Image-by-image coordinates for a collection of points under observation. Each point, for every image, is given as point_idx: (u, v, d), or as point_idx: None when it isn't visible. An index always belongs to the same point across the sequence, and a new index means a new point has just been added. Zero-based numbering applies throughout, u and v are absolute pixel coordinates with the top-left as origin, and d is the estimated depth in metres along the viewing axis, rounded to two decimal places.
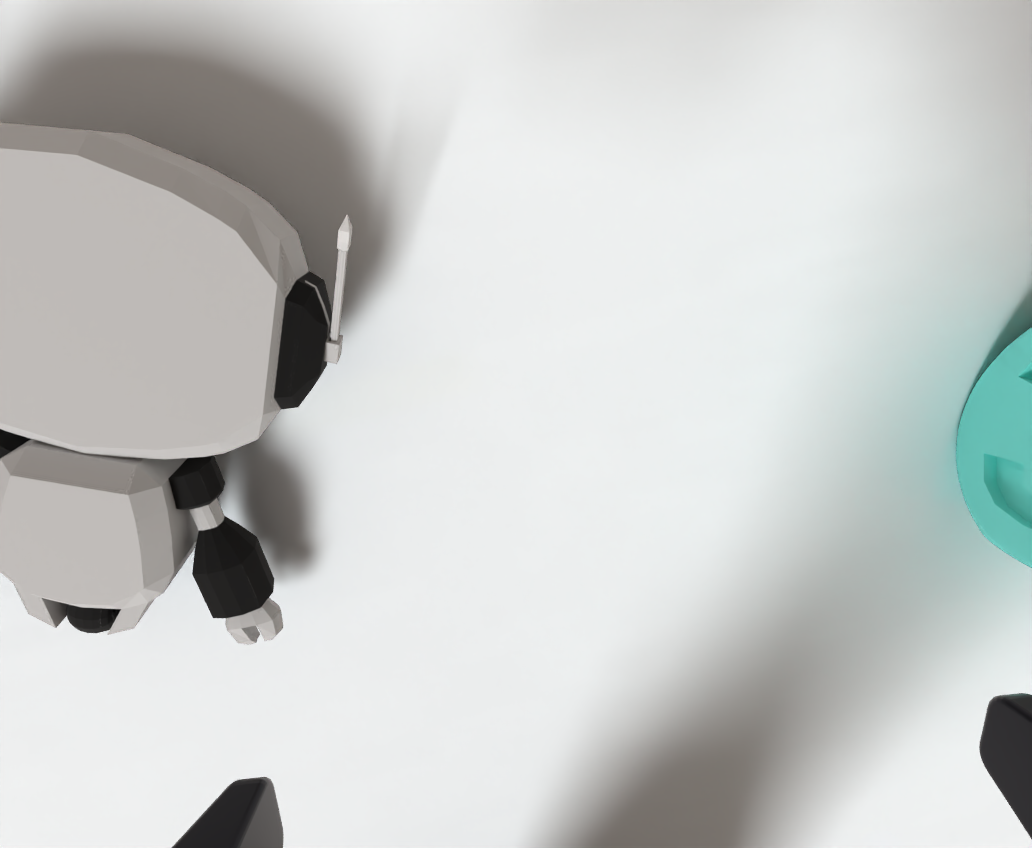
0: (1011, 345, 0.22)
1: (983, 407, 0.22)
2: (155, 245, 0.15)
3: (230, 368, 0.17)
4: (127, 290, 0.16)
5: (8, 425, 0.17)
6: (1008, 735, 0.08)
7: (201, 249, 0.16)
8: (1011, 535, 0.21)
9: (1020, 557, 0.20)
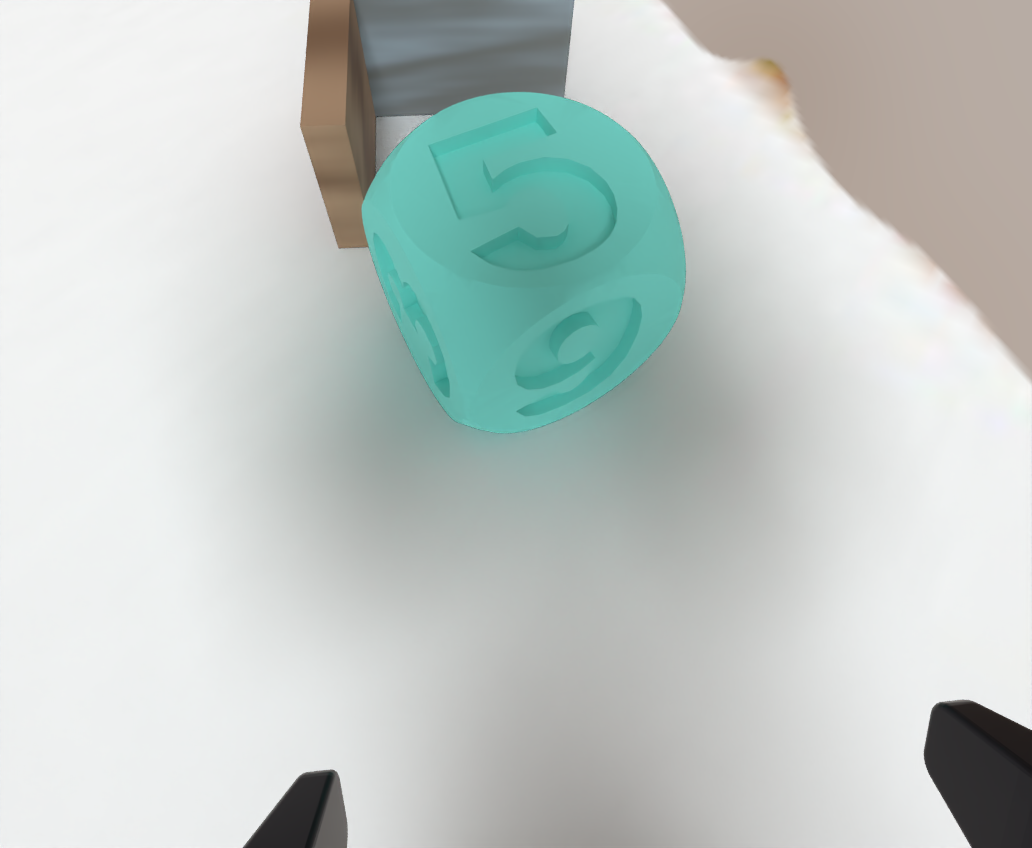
0: (395, 317, 0.25)
1: (419, 362, 0.24)
2: None
3: None
4: None
5: None
6: (949, 742, 0.08)
7: None
8: (456, 398, 0.20)
9: (466, 403, 0.19)
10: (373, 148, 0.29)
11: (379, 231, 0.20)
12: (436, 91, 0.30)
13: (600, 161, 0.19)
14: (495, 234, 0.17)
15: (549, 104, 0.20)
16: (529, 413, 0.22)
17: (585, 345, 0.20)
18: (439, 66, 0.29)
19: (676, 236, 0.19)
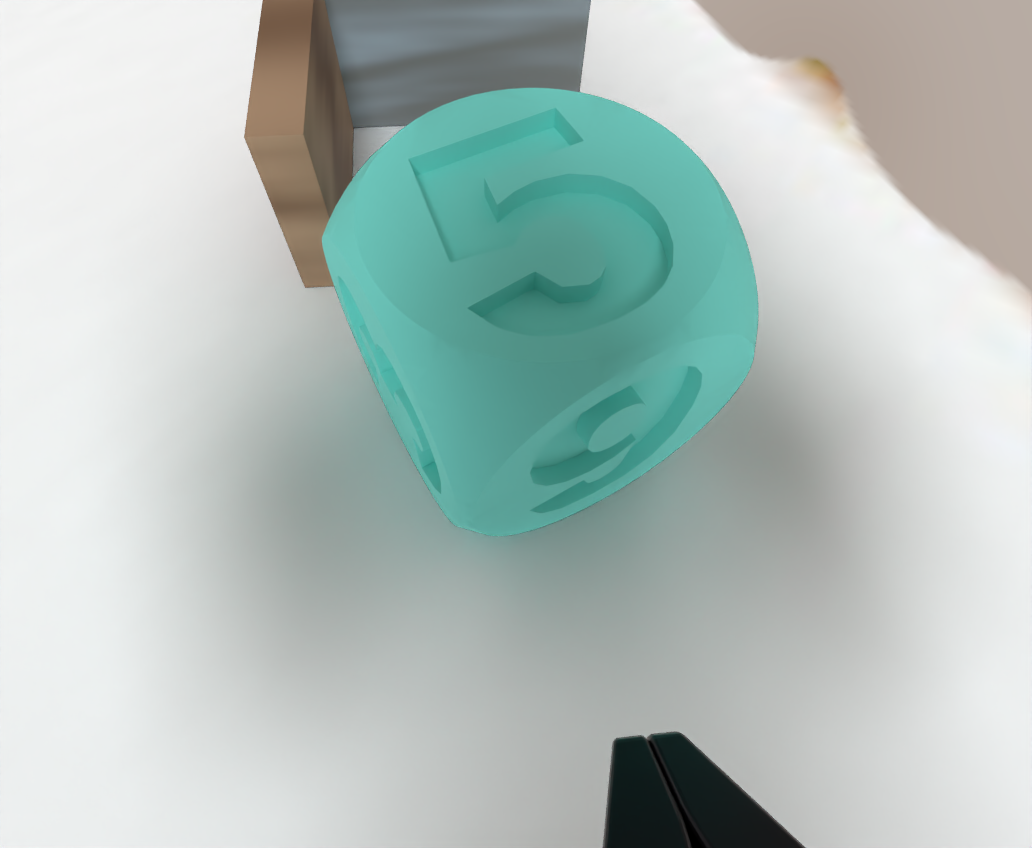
0: (372, 377, 0.19)
1: (403, 437, 0.19)
2: None
3: None
4: None
5: None
6: None
7: None
8: (450, 501, 0.15)
9: (463, 511, 0.14)
10: (349, 165, 0.24)
11: (343, 276, 0.14)
12: (425, 97, 0.25)
13: (645, 178, 0.14)
14: (502, 283, 0.12)
15: (572, 104, 0.15)
16: (547, 508, 0.17)
17: (626, 428, 0.14)
18: (428, 66, 0.24)
19: (750, 280, 0.14)
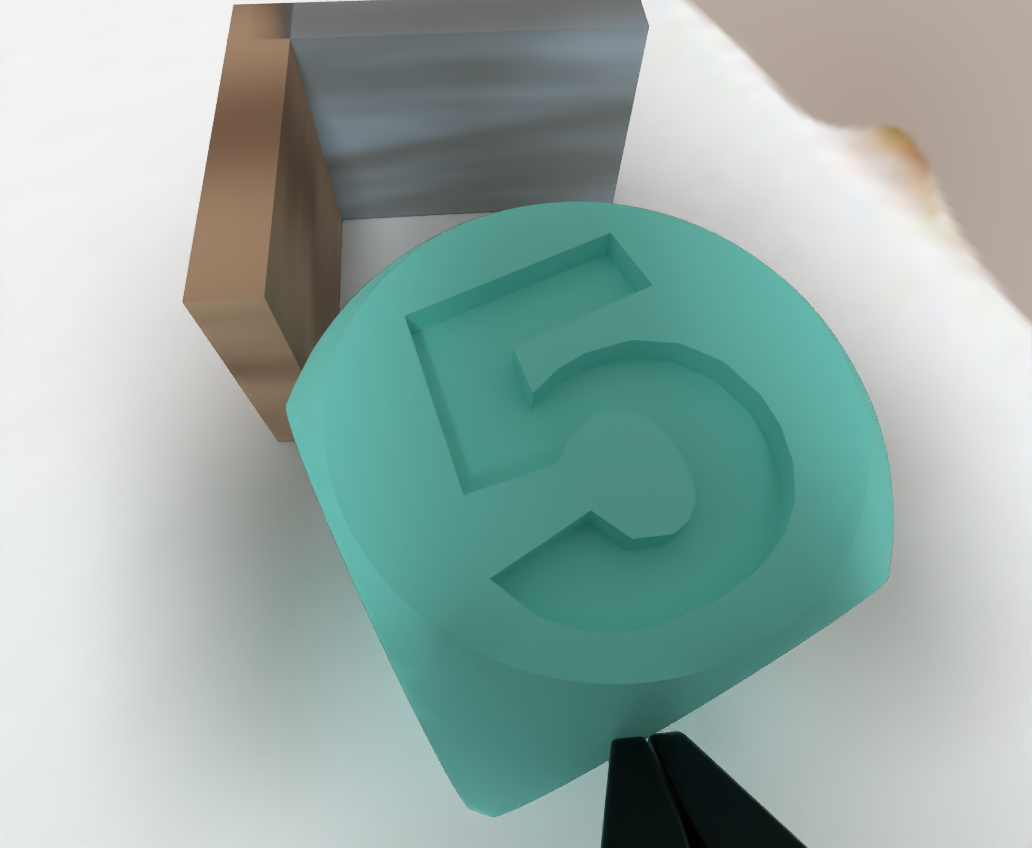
0: None
1: None
2: None
3: None
4: None
5: None
6: None
7: None
8: None
9: None
10: (336, 274, 0.20)
11: None
12: (430, 186, 0.20)
13: (743, 348, 0.10)
14: (542, 532, 0.08)
15: (633, 227, 0.11)
16: None
17: None
18: (433, 153, 0.19)
19: (891, 491, 0.10)
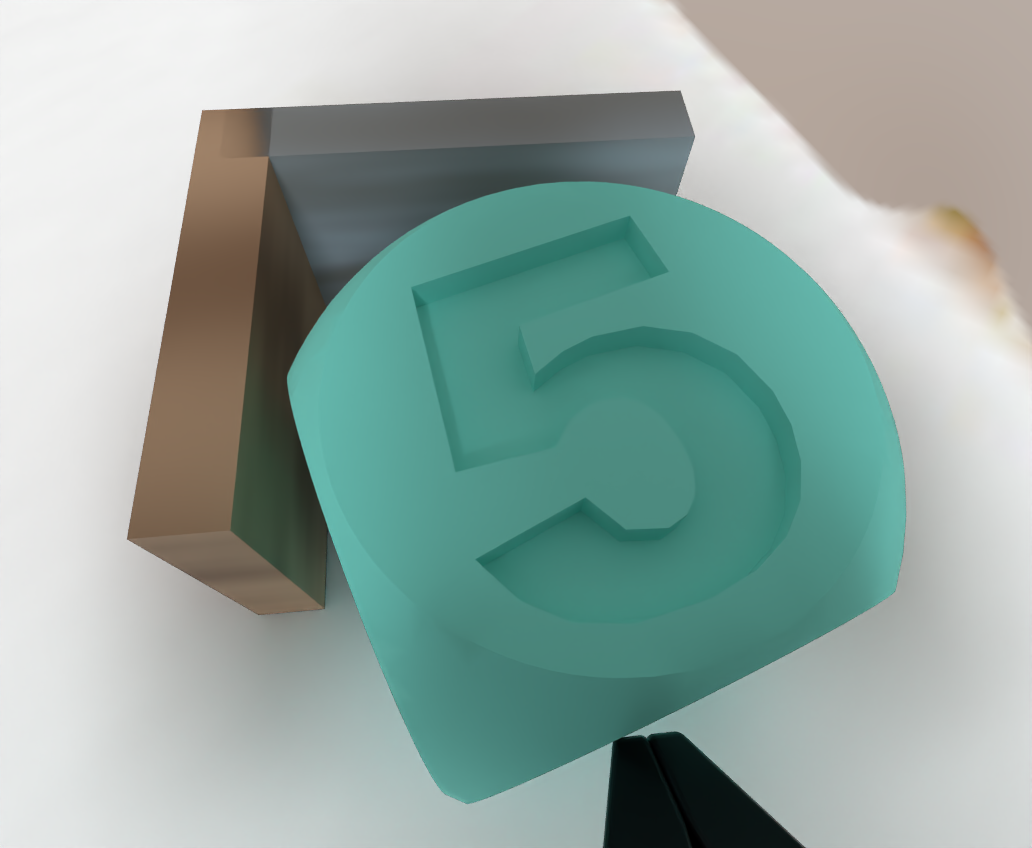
0: None
1: None
2: None
3: None
4: None
5: None
6: None
7: None
8: None
9: (453, 797, 0.10)
10: None
11: None
12: None
13: (758, 342, 0.09)
14: (533, 516, 0.08)
15: (654, 211, 0.10)
16: None
17: None
18: None
19: (904, 502, 0.09)
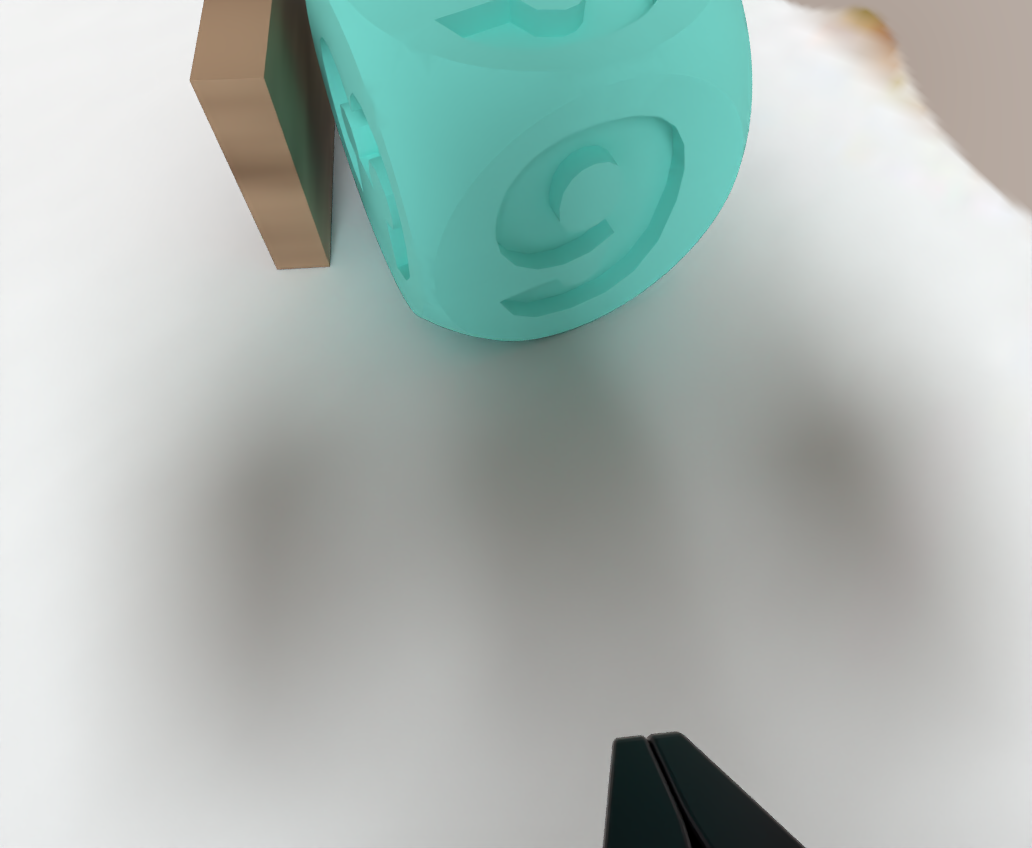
0: (358, 190, 0.19)
1: (383, 246, 0.18)
2: None
3: None
4: None
5: None
6: None
7: None
8: (414, 269, 0.14)
9: (425, 272, 0.14)
10: (330, 126, 0.21)
11: (321, 25, 0.14)
12: None
13: None
14: (475, 2, 0.12)
15: None
16: (521, 313, 0.16)
17: (601, 203, 0.14)
18: None
19: (743, 44, 0.13)
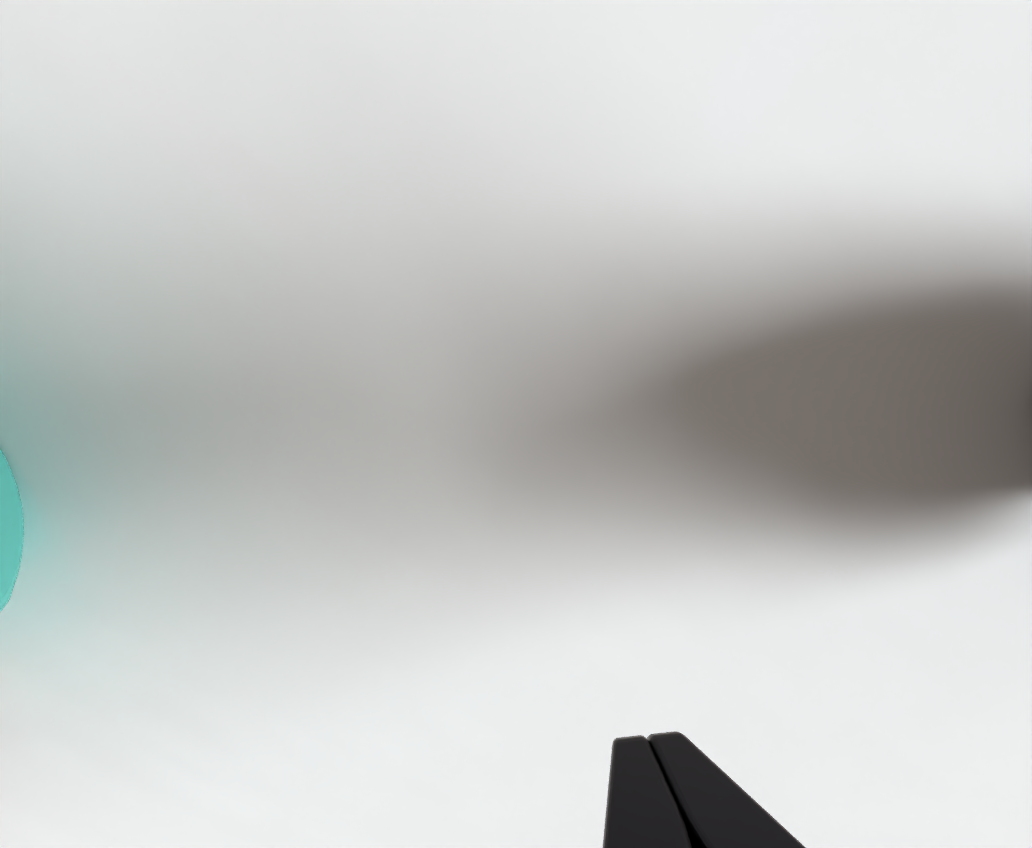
0: None
1: None
2: None
3: None
4: None
5: None
6: None
7: None
8: None
9: None
10: None
11: None
12: None
13: None
14: None
15: None
16: None
17: None
18: None
19: None
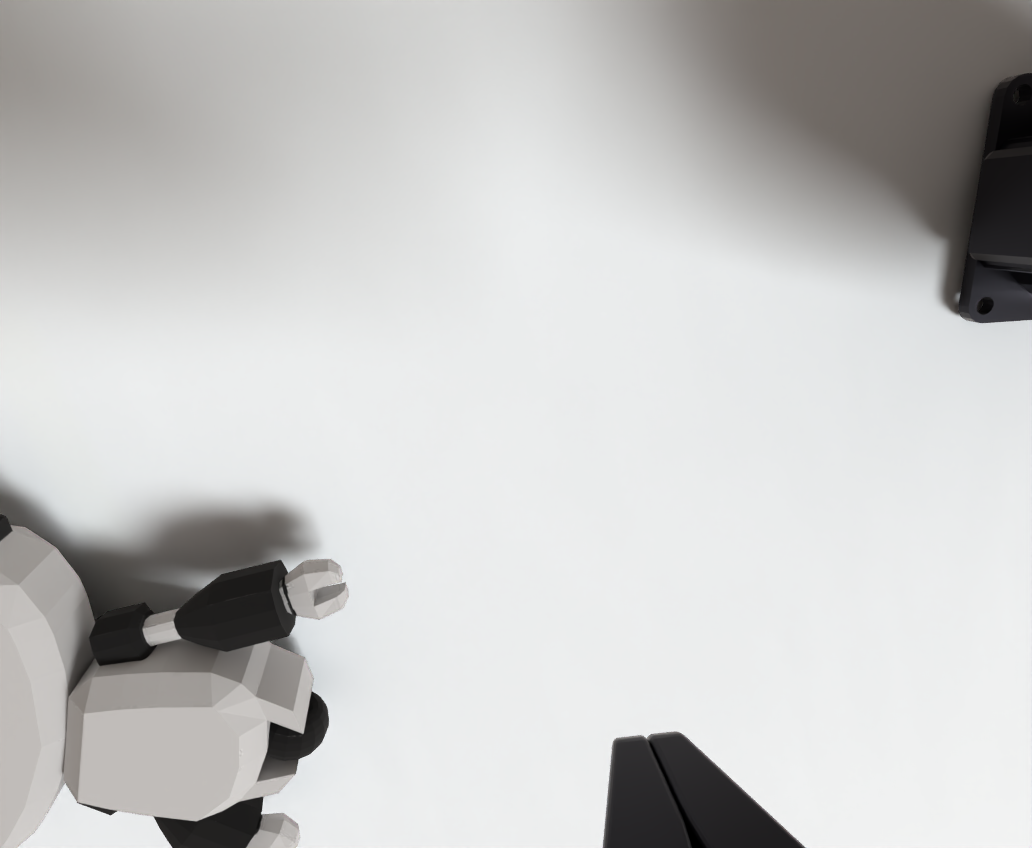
0: None
1: None
2: None
3: None
4: None
5: (29, 795, 0.17)
6: None
7: None
8: None
9: None
10: None
11: None
12: None
13: None
14: None
15: None
16: None
17: None
18: None
19: None
